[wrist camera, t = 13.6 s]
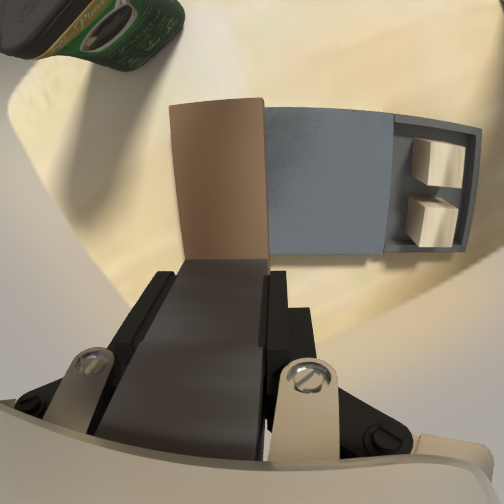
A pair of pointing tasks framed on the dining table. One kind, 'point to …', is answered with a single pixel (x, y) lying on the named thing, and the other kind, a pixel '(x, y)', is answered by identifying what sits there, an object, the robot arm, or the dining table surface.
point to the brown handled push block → (207, 298)
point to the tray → (409, 186)
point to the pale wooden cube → (431, 221)
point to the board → (328, 179)
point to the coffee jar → (89, 29)
